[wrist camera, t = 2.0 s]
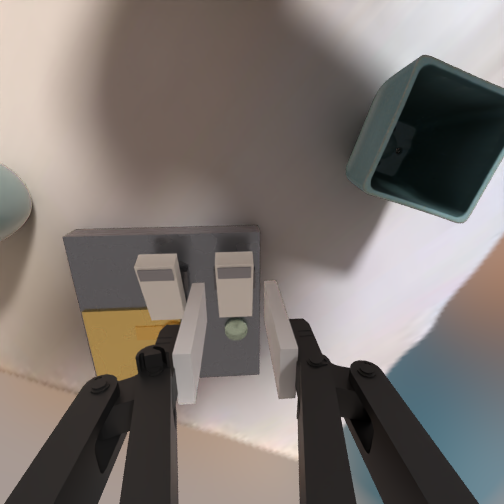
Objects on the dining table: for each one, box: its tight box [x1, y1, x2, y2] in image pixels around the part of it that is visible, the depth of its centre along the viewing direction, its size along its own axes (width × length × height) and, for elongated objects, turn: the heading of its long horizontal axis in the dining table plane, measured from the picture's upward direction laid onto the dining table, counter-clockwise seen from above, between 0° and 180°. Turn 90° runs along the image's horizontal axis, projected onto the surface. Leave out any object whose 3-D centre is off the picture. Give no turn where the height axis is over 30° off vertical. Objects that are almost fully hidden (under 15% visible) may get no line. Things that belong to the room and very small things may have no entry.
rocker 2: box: [215, 251, 254, 318], centre depth 27 cm, size 7×3×2 cm, turn 2°
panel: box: [63, 225, 260, 381], centre depth 31 cm, size 17×18×3 cm
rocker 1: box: [134, 253, 187, 320], centre depth 27 cm, size 7×3×2 cm, turn 2°
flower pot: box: [346, 55, 504, 223], centre depth 24 cm, size 9×9×9 cm
